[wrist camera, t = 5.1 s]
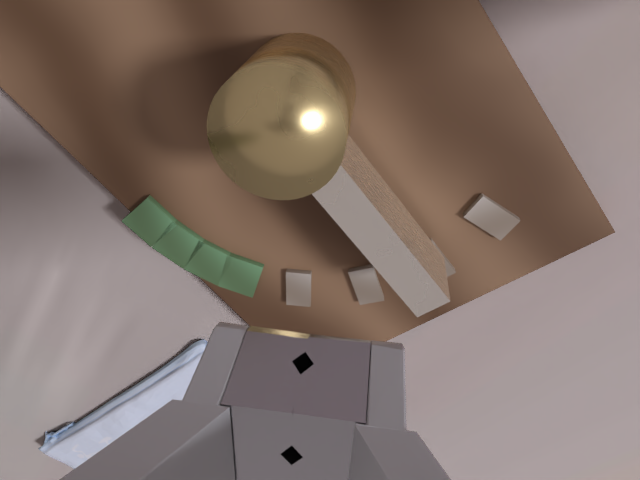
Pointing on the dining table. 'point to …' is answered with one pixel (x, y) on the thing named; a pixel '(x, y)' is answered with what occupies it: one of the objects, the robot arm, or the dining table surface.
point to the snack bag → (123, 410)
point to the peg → (319, 158)
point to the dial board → (365, 130)
